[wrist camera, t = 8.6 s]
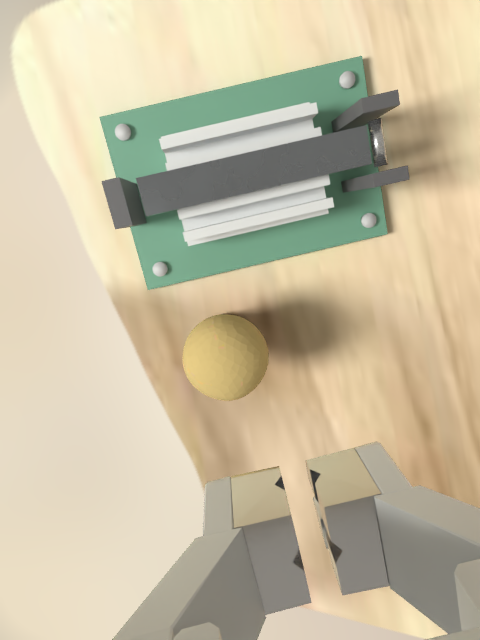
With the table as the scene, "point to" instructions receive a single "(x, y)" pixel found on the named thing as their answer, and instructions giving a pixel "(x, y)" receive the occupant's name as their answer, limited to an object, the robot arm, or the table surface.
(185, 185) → the strap
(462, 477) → the table surface
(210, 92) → the board
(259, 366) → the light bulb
